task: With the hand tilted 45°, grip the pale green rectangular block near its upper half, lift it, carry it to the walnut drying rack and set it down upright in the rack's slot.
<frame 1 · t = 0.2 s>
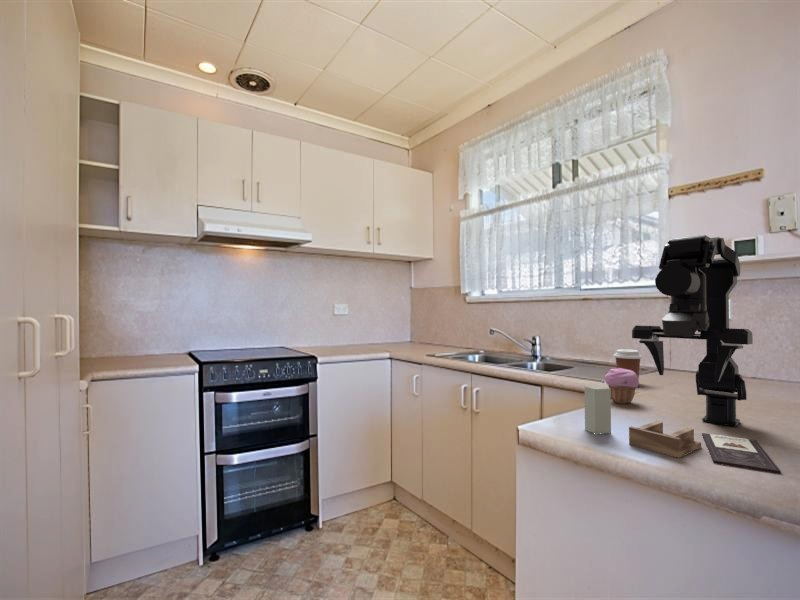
hand: (688, 378, 79), 14 cm above the table, tool pointing down, fingers open, 9 cm apart
coffee cup: (628, 383, 145), on the table
rack: (664, 445, 81), on the table
chocolate bar: (736, 455, 78), on the table
pale green rectangular block: (597, 431, 91), on the table
cupcake: (622, 402, 118), on the table
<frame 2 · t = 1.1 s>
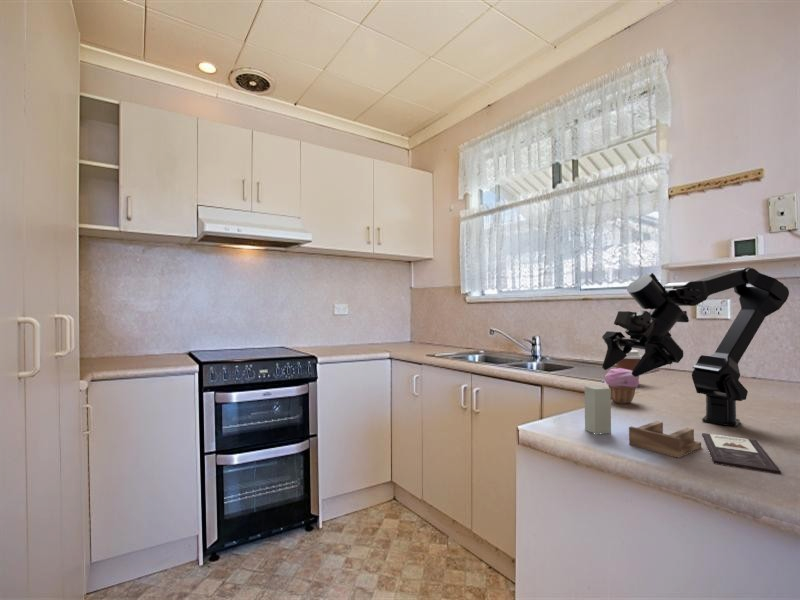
hand: (617, 371, 92), 13 cm above the table, tool tilted 45°, fingers open, 9 cm apart
nothing on the table moved.
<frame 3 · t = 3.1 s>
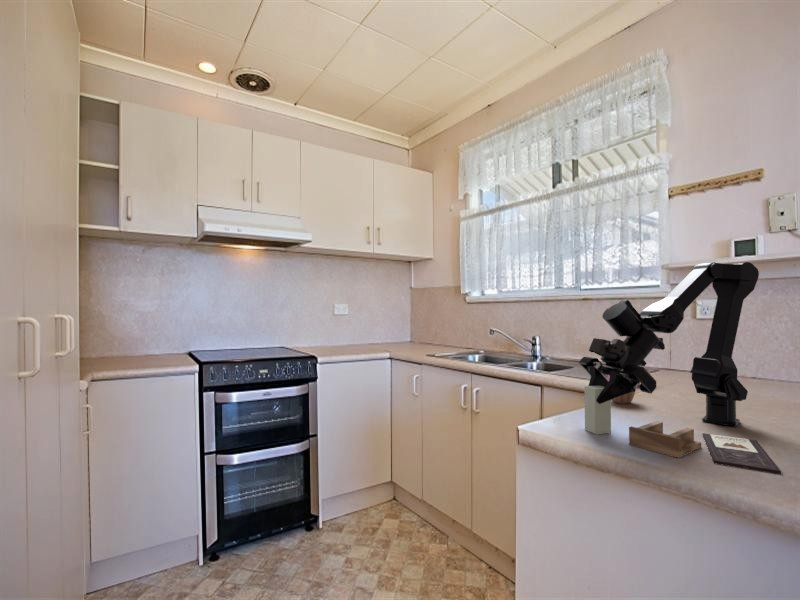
hand: (592, 400, 90), 7 cm above the table, tool tilted 45°, fingers closed on pale green rectangular block, 3 cm apart
pale green rectangular block: (597, 431, 91), on the table, touching gripper
everything else where it was.
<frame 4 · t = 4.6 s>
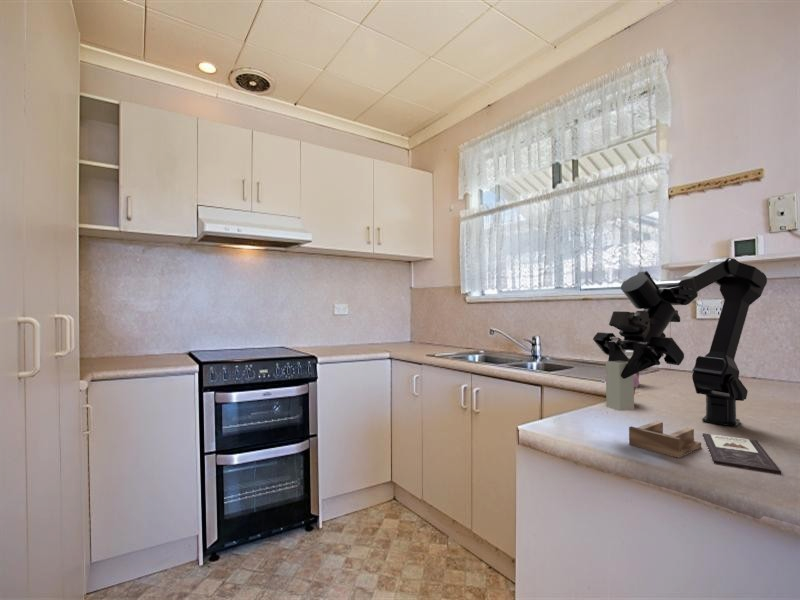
hand: (614, 375, 86), 13 cm above the table, tool tilted 45°, fingers closed on pale green rectangular block, 3 cm apart
pale green rectangular block: (620, 408, 87), point 6 cm above the table, touching gripper
everything else where it was.
when the fingers open (9 cm above the table, at t = 6.4 s): pale green rectangular block drops 1 cm, resting on rack.
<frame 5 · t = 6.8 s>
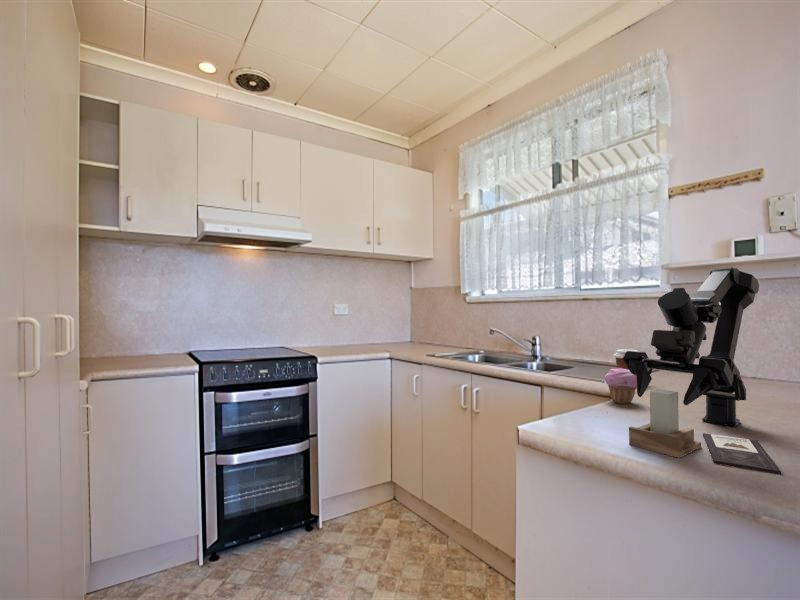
hand: (660, 399, 80), 10 cm above the table, tool tilted 45°, fingers open, 8 cm apart
pale green rectangular block: (664, 440, 81), point 1 cm above the table, touching rack
everything else where it was.
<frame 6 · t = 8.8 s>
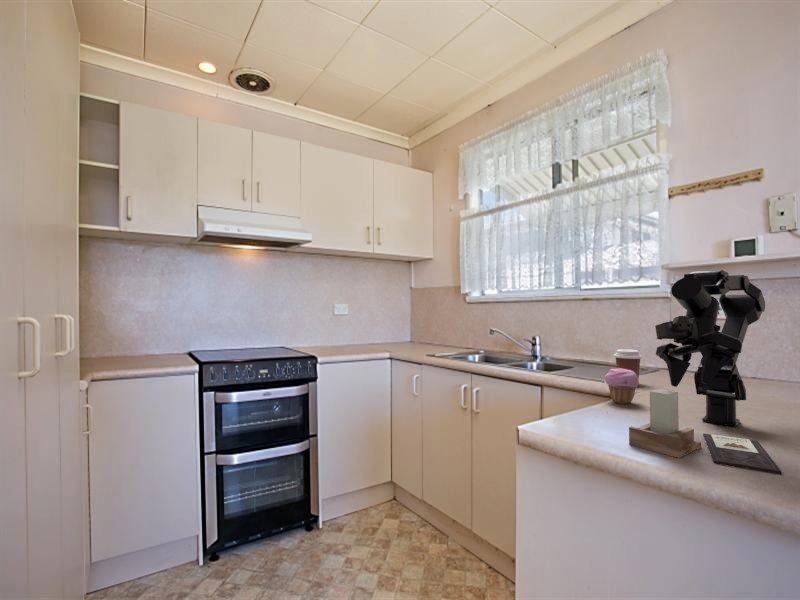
hand: (688, 384, 87), 11 cm above the table, tool tilted 25°, fingers open, 9 cm apart
nothing on the table moved.
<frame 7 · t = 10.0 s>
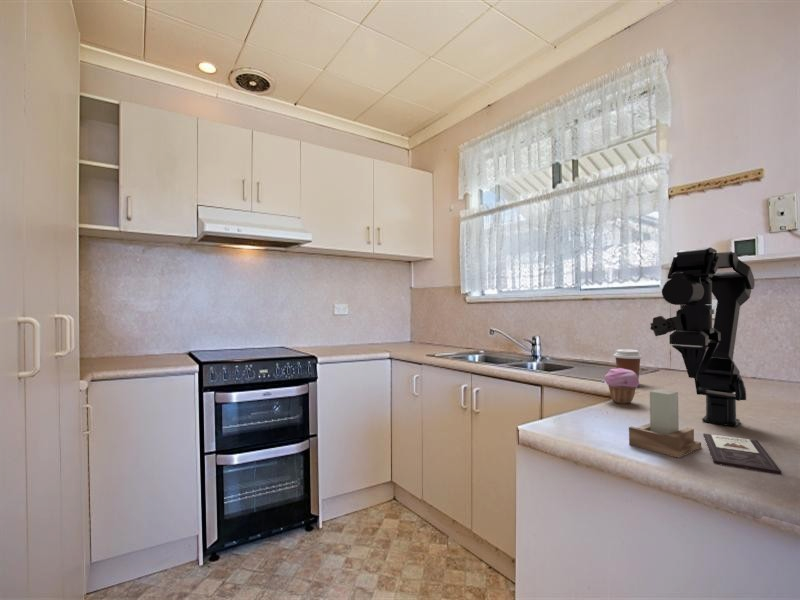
hand: (696, 375, 89), 13 cm above the table, tool pointing down, fingers open, 9 cm apart
nothing on the table moved.
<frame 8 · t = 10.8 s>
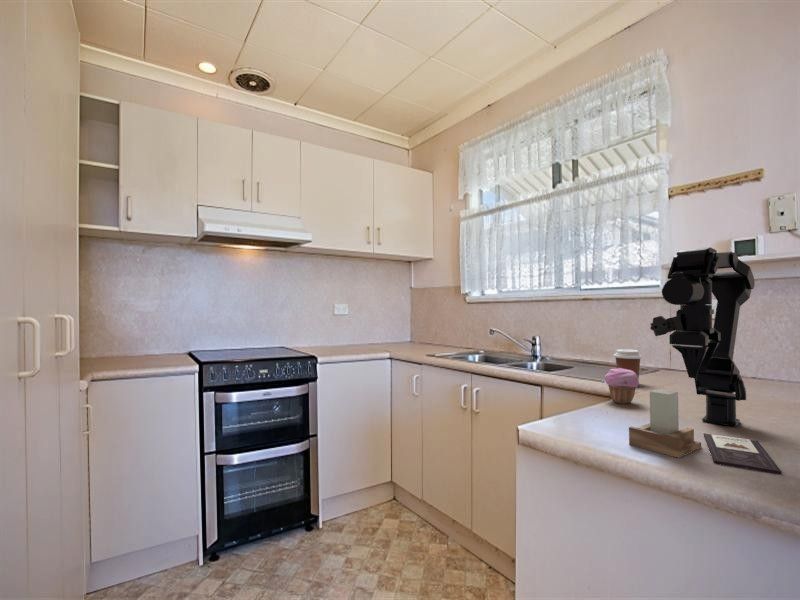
hand: (696, 375, 89), 13 cm above the table, tool pointing down, fingers open, 9 cm apart
nothing on the table moved.
at the end: pale green rectangular block 0.0 cm off-centre on the rack, point 1.0 cm above the rack's base; pale green rectangular block tilted 0°; the gripper is holding nothing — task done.
